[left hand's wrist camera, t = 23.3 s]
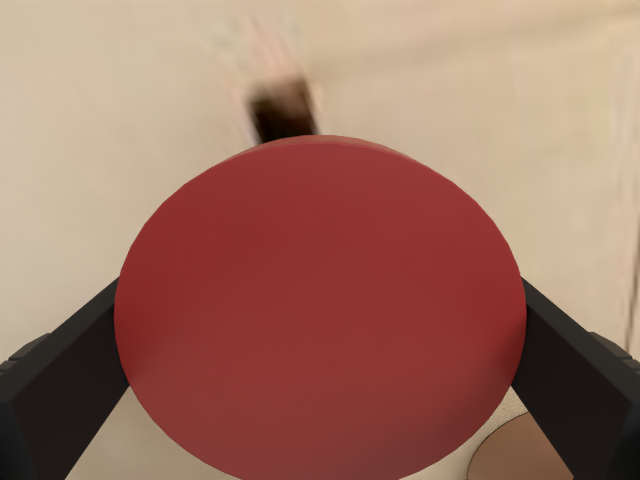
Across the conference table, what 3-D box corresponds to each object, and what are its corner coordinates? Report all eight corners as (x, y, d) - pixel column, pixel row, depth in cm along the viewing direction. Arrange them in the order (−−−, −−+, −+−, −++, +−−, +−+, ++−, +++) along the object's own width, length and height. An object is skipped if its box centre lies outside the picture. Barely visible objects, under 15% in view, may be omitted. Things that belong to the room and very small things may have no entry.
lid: (110, 149, 10) (55, 160, 8) (506, 119, 10) (557, 122, 8) (187, 441, 14) (164, 501, 12) (475, 426, 14) (504, 484, 12)
